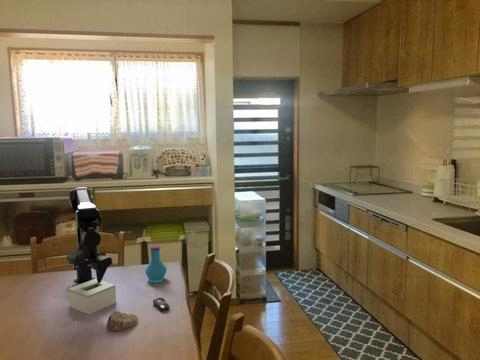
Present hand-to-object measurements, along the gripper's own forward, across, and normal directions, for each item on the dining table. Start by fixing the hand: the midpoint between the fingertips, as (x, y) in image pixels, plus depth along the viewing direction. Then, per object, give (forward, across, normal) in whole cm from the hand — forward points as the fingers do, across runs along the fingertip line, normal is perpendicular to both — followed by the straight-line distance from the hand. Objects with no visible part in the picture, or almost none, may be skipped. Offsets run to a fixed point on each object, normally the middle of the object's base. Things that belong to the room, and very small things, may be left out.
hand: (91, 280), depth 150 cm
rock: (+10, +22, -5) cm, 25 cm away
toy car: (+10, +22, +13) cm, 27 cm away
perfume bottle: (+10, +2, +31) cm, 33 cm away
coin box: (+10, 0, 0) cm, 10 cm away
